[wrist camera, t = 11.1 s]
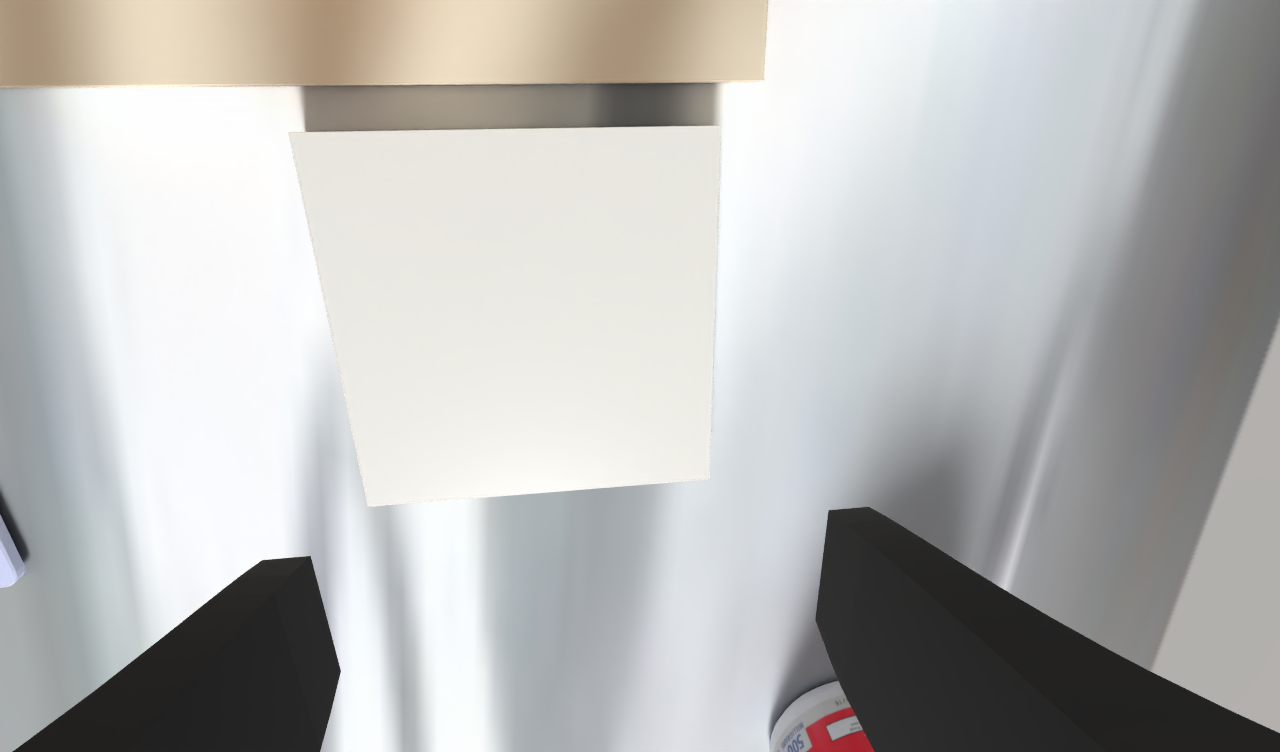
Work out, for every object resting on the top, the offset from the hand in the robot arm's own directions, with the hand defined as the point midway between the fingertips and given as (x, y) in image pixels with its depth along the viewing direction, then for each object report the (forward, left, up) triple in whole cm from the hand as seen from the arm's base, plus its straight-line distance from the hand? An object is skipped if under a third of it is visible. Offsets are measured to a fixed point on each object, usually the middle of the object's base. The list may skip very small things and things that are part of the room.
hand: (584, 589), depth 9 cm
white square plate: (-1, +1, -10) cm, 10 cm away
